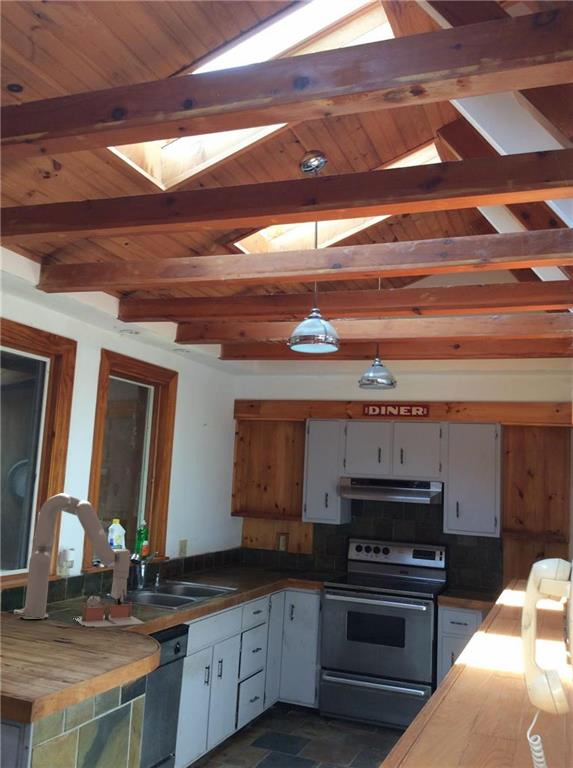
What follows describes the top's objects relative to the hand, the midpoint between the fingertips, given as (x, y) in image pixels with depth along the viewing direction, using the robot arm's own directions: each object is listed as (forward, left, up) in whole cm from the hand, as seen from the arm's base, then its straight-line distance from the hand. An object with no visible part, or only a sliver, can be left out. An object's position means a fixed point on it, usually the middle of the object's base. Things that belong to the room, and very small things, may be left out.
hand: (117, 612), depth 330 cm
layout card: (-7, -8, -2) cm, 11 cm away
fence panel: (0, -6, -1) cm, 6 cm away
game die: (-6, +18, -2) cm, 20 cm away
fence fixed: (-13, -6, -2) cm, 14 cm away
